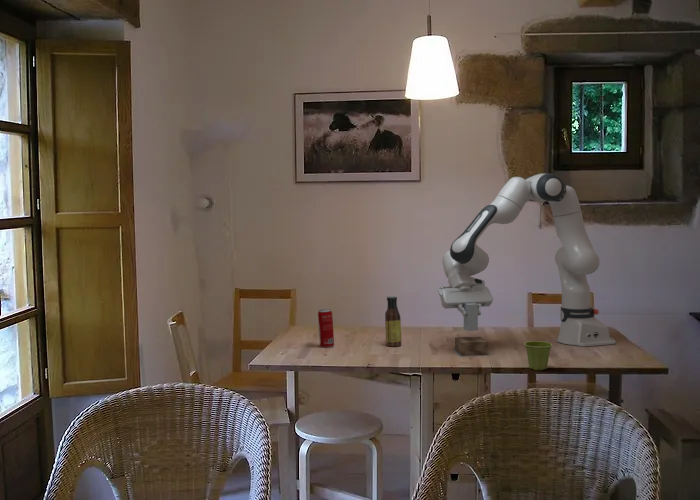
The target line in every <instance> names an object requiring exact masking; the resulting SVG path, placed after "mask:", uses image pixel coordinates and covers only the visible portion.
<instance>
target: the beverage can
mask: <svg viewBox="0 0 700 500" xmlns="http://www.w3.org/2000/svg"><path fill="white" fill-rule="evenodd" d="M317 319H318V320H317V321H318V336H319V337H318V338H319V346H320V348H322V349H324V348H325V349H328V348H332V347H334V346H335V338H334V337H335V335H334V320H333V312H332V309H330V308H323V309H318V313H317Z"/></svg>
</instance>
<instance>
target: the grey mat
mask: <svg viewBox="0 0 700 500" xmlns="http://www.w3.org/2000/svg"><path fill="white" fill-rule="evenodd" d="M452 351H453V353H455V354H456V355H457V356H458V357H463V358H464V357H465V358H466V356H461V355H460V354H459V353H458V352H457V351H456V350H455V349H452ZM485 356H487V357H490V356H492V355H491V354H490V353H488V355H472V356H471V357H485Z"/></svg>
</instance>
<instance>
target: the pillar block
mask: <svg viewBox="0 0 700 500" xmlns="http://www.w3.org/2000/svg"><path fill="white" fill-rule="evenodd" d="M463 309H464V310H467V312H468V315H467V316H463V330H464V331H467V332H473V331H478V329H479V323H478V322H479V320H478V319H479V317H478V304H476V303H466V304H464V308H463Z"/></svg>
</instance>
